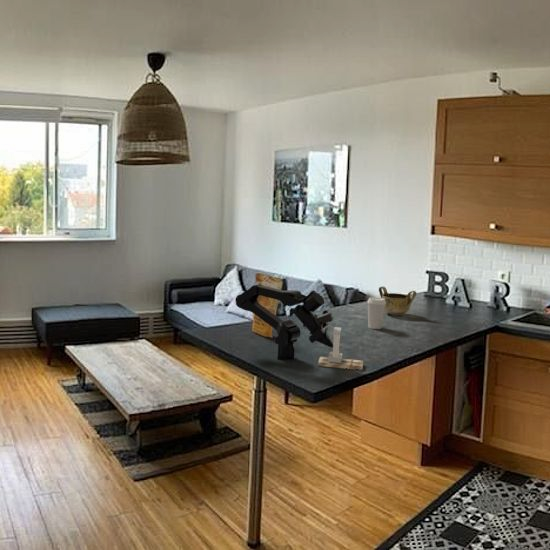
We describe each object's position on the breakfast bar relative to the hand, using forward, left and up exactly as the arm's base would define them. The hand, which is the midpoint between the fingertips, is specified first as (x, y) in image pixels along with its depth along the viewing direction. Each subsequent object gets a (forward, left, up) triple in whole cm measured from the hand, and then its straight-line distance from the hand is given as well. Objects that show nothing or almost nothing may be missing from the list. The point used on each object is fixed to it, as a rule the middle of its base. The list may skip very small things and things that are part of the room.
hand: (332, 347), depth 244 cm
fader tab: (+1, 0, -5) cm, 5 cm away
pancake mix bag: (-32, +42, -7) cm, 53 cm away
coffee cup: (+22, +70, -7) cm, 74 cm away
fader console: (+4, 0, -7) cm, 8 cm away
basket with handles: (+36, +106, -7) cm, 112 cm away
